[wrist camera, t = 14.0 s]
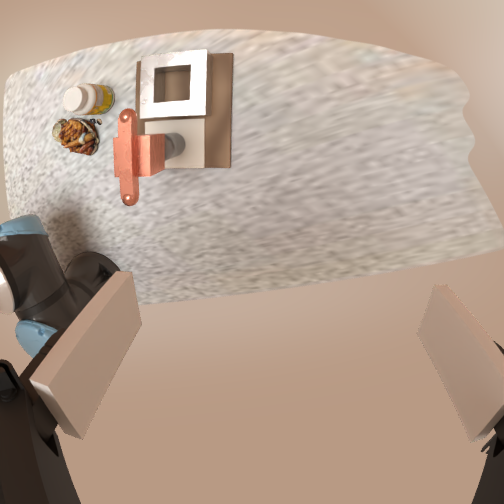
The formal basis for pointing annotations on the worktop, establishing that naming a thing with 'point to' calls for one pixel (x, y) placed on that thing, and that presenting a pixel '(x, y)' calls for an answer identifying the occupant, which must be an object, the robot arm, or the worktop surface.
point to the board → (214, 124)
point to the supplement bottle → (88, 99)
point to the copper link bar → (140, 154)
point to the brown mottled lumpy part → (77, 135)
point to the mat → (192, 135)
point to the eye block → (155, 84)
